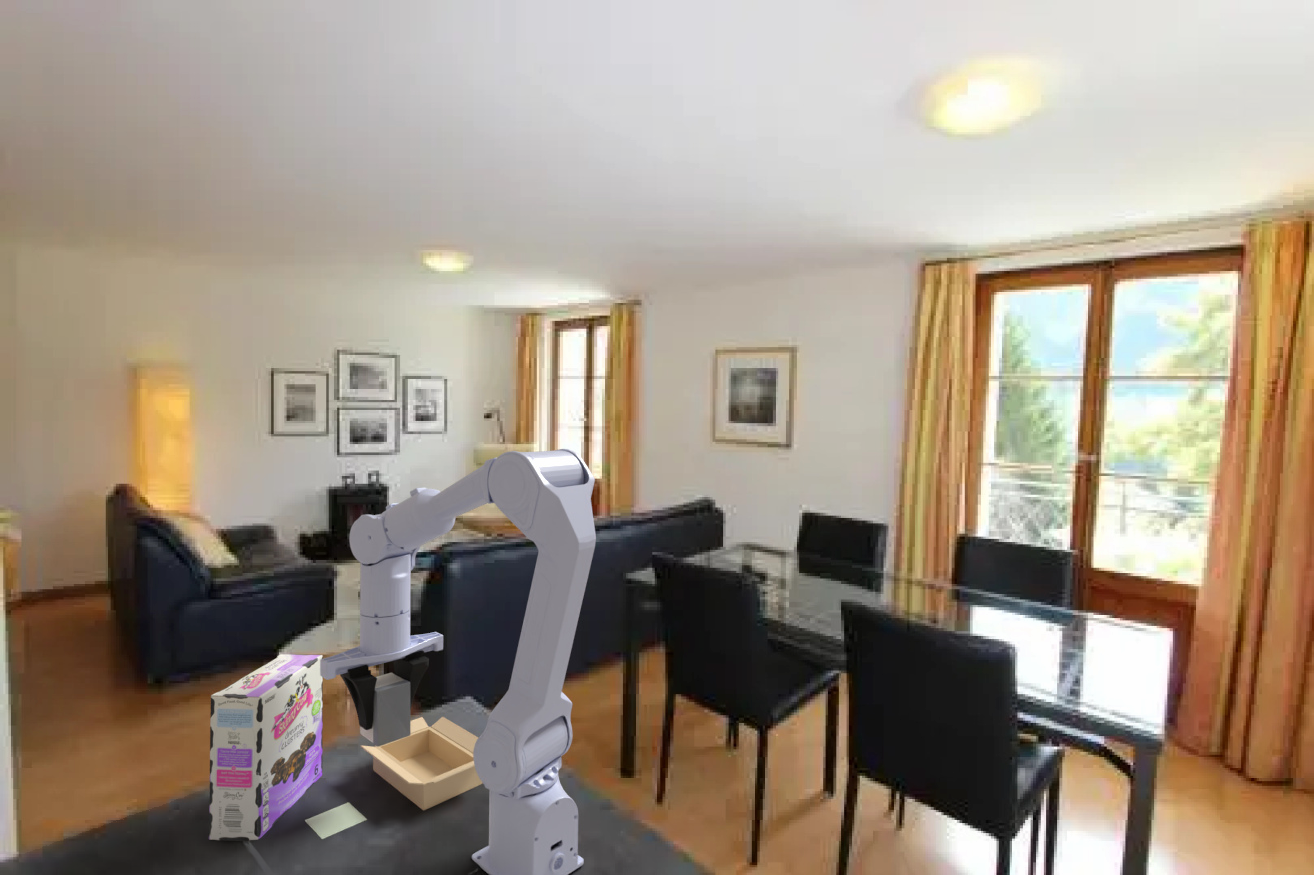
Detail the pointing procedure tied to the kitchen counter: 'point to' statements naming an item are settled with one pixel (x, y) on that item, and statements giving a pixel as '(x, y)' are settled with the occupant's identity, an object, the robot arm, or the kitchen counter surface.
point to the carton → (428, 762)
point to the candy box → (264, 746)
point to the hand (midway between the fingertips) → (384, 720)
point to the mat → (335, 820)
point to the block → (389, 710)
